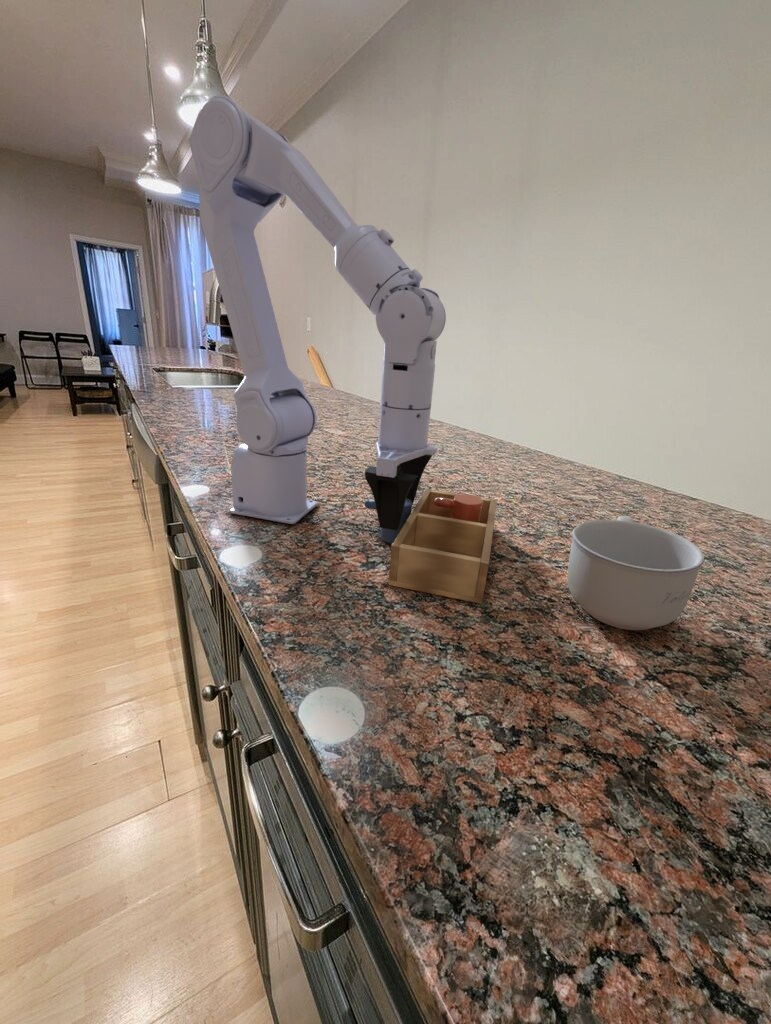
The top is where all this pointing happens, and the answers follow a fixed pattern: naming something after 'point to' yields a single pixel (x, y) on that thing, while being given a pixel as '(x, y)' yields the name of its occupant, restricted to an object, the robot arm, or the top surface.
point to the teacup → (631, 572)
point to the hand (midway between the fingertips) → (396, 516)
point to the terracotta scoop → (462, 507)
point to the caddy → (443, 550)
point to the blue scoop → (391, 535)
